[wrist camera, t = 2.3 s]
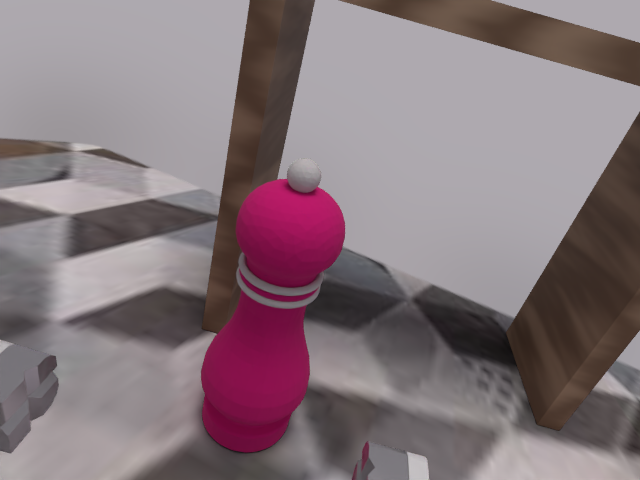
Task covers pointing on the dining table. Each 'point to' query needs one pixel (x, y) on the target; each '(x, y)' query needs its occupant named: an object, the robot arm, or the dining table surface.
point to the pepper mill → (271, 310)
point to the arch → (569, 258)
